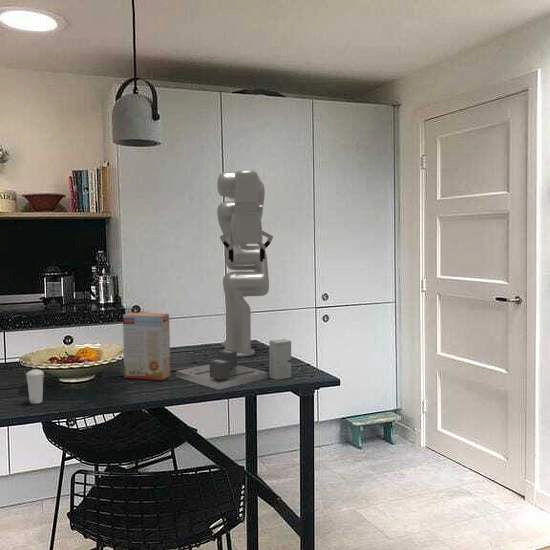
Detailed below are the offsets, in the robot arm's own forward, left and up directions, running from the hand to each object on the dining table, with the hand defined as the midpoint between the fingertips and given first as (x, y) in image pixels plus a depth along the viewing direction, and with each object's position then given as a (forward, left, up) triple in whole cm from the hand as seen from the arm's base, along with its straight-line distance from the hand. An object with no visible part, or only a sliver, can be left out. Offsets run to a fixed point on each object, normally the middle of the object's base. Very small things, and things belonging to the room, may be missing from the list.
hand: (246, 261), depth 201 cm
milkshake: (-16, -64, -37) cm, 76 cm away
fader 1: (-5, -4, -35) cm, 35 cm away
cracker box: (-19, -26, -38) cm, 50 cm away
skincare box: (+11, +5, -38) cm, 39 cm away
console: (-2, -9, -37) cm, 38 cm away
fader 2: (+5, -15, -35) cm, 38 cm away
